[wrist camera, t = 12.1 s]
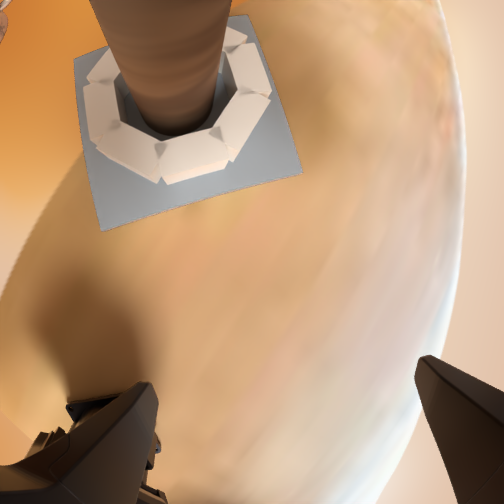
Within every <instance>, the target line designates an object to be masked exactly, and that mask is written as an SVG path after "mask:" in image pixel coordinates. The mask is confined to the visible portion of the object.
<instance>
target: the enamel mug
mask: <svg viewBox="0 0 504 504" xmlns="http://www.w3.org/2000/svg"><path fill="white" fill-rule="evenodd" d="M11 1H12V0H3V1H2V2H1V3H0V43H1V41H2V39H3V37H4V35H5V33H6V29H7V26H8V18H7V16H6V15H5V14H4V12H3V11H2V10H3V9H4V8H5V7H7V6H8V5H9V4H10V2H11Z"/></svg>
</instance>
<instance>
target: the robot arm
mask: <svg viewBox="0 0 504 504" xmlns="http://www.w3.org/2000/svg"><path fill="white" fill-rule="evenodd" d="M414 379H415V384H416V387H417V390H418V393H419V396H420V400H421V403H422V406H423V410H424V413H425V416H426V419H427V421H428V423H429V426H430V428H431V431H432V433H433V436H434V438H435V441H436V443H437V446H438V448H439V451H440V454H441V456H442V459H443V461H444V464H445V467H446V470H447V472H448V475H449V478H450V481H451V484H452V487H453V490H454V493H455V496H456V499H457V502H458V504H504V392H503V391H501V390H499V389H497V388H495V387H493V386H491V385H489V384H487V383H485V382H483V381H481V380H479V379H477V378H475V377H473V376H471V375H469V374H467V373H465V372H463V371H461V370H459V369H457V368H455V367H453V366H451V365H450V364H448V363H446V362H444V361H441V360H440V359H438V358H436V357H434V356H432V355H426V356H422V357H420V358H419V360H418V363H417V367H416V371H415V376H414ZM70 407H72V408H73V409H71V408H70ZM66 410H67V412H68V413H69V415H70V417H71V418H72V420H73V421H74V423H73V425H72V426H71V428H70V430H69V432H68V433H67V434H66V433H65V431H64V430H63V429H62V428H60V427H58V428H57V429H56V430H55V432H53V431H52V432H51V433H44V432H40V433H39V435H38V436H37V438H36V439H35V441H34V443H33V444H32V446H31V447H30V449H29V451H28V453H27V454H26V456H25V458H24V459H23V460H21V461H19V462H17V463H15V464H12V465H6V466H0V504H168V502H167V499H166V496H165V493H164V492H162V491H160V490H158V489H157V490H155V489H153V488H151V487H149V486H147V485H146V482H147V474H148V470H152V469H153V467H154V459H155V454H156V453H160V452H161V445H160V444H159V442H158V441H157V435H156V433H155V432H154V430H155V423H156V417H157V411H158V398H157V395H156V393H155V391H154V388H153V386H152V384H151V383H150V382H138V383H136V384H135V385H134V386H132V387H131V388H130V389H128V390H127V391H126V392H124V393H119V394H114V395H109V396H103V397H98V398H92V399H86V400H80V401H73V402H69V403H68V404H67V405H66ZM156 448H157V449H156Z"/></svg>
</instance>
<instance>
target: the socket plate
mask: <svg viewBox="0 0 504 504" xmlns="http://www.w3.org/2000/svg"><path fill="white" fill-rule="evenodd" d="M74 74H75V87H76V99H77V108H78V117H79V124H80V131H81V138H82V144H83V151H84V157H85V162H86V167H87V173H88V178H89V182H90V187H91V192H92V196H93V200H94V205H95V209H96V213H97V217H98V221H99V225H100V228H101V231H108V230H111V229H113V228H116V227H119V226H122V225H125V224H128V223H131V222H134V221H137V220H140V219H143V218H146V217H149V216H152V215H155V214H159V213H162V212H165V211H168V210H171V209H175V208H178V207H181V206H184V205H188V204H191V203H194V202H198V201H201V200H205V199H208V198H212V197H215V196H219V195H222V194H226V193H230V192H233V191H237V190H241V189H244V188H248V187H252V186H256V185H260V184H263V183H267V182H271V181H275V180H279V179H283V178H288V177H292V176H296V175H299V174H301V173H303V170H302V167H301V164H300V160H299V157H298V154H297V150H296V147H295V144H294V141H293V138H292V134H291V131H290V128H289V125H288V122H287V119H286V116H285V113H284V110H283V107H282V104H281V101H280V98H279V95H278V92H277V90H276V87H275V84H274V81H273V78H272V76H271V73H270V70H269V67H268V65H267V62H266V59H265V57H264V54H263V52H262V49H261V46H260V44H259V41H258V39H257V36H256V34H255V31H254V29H253V26H252V24H251V21H250V19H249V17H248V15H240V16H231V17H228V22H227V27H226V32H225V37H224V42H223V48H222V53H221V59H220V65H219V71H218V77H217V83H216V89H215V95H214V102H213V108H212V111H211V113H210V115H209V117H208V119H207V120H206V121H205V122H204V123H203V124H202V125H201V126H200V127H199V128H197V129H196V130H194V131H192V132H190V133H187V134H184V135H180V136H167V135H163V134H159V133H157V132H155V131H153V130H152V129H151V128H149V127H148V126H147V124H146V123H145V122H144V120H143V118H142V116H141V114H140V112H139V110H138V108H137V106H136V103H135V101H134V99H133V97H132V95H131V93H130V91H129V89H128V87H127V84H126V82H125V80H124V78H123V76H122V74H121V72H120V69H119V67H118V65H117V63H116V61H115V58H114V56H113V54H112V52H111V49H110V47H109V45H108V46H105V47H103V48H100V49H97V50H95V51H92V52H90V53H87V54H85V55H82V56H80V57H78V58H75V59H74Z"/></svg>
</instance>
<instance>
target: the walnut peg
mask: <svg viewBox="0 0 504 504" xmlns="http://www.w3.org/2000/svg"><path fill="white" fill-rule="evenodd" d="M89 1H90V3H91V5H92V8H93V10H94V13H95V15H96V17H97V20H98V22H99V24H100V27H101V29H102V31H103V33H104V36H105V38H106V40H107V43H108V45H109V47H110V49H111V52H112V54H113V56H114V58H115V61H116V63H117V65H118V67H119V69H120V72H121V74H122V76H123V78H124V80H125V82H126V84H127V87H128V89H129V91H130V93H131V95H132V97H133V99H134V101H135V103H136V106H137V108H138V110H139V112H140V114H141V116H142V118H143V120H144V122H145V123H146V124H147V126H148V127H149V128H151V129H152V130H153V131H155V132H157V133H159V134H163V135H167V136H180V135H184V134H187V133H190V132H192V131H194V130H196V129H197V128H199V127H200V126H201V125H202V124H203V123H204V122H205V121H206V120H207V119H208V117H209V115H210V113H211V111H212V108H213V102H214V95H215V89H216V83H217V77H218V71H219V65H220V59H221V53H222V48H223V42H224V37H225V32H226V27H227V22H228V17H229V12H230V7H231V2H232V0H89Z"/></svg>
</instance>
